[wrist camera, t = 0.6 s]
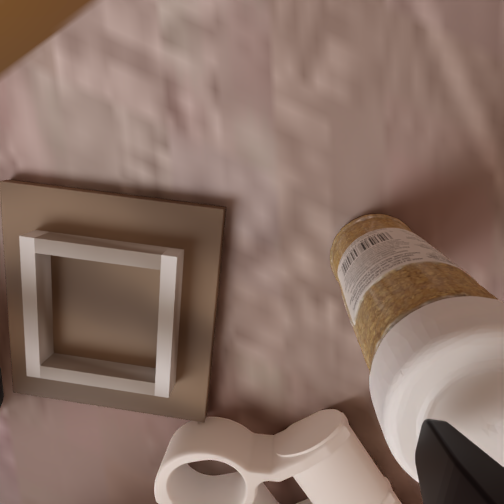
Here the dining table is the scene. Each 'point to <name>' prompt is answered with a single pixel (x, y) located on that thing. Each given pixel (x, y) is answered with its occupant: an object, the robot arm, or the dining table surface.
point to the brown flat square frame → (111, 297)
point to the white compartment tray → (271, 463)
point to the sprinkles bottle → (422, 336)
